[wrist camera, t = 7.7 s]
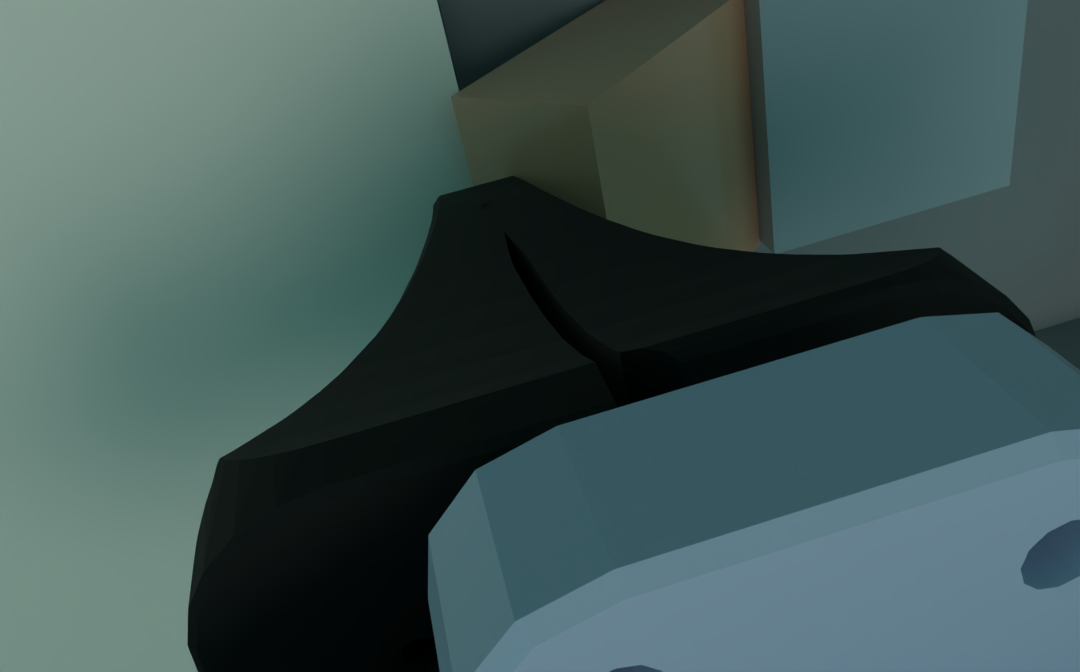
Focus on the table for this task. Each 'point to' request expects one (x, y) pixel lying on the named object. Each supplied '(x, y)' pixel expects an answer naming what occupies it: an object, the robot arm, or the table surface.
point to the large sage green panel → (186, 275)
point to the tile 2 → (878, 109)
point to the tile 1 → (629, 119)
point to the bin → (958, 227)
